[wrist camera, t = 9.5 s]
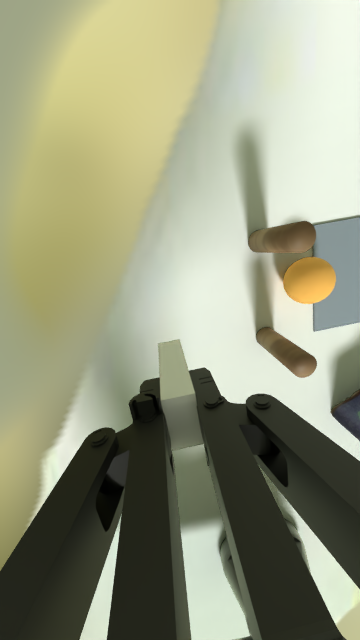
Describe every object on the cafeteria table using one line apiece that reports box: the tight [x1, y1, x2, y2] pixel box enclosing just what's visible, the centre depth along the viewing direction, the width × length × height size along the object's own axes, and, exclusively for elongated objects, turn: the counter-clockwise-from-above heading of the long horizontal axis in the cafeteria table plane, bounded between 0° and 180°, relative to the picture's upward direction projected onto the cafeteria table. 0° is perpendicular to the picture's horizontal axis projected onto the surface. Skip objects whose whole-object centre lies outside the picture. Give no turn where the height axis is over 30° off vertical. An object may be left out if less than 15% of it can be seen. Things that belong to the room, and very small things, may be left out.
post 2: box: [256, 327, 317, 378], centre depth 29 cm, size 3×3×9 cm
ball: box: [283, 257, 336, 304], centre depth 28 cm, size 6×6×6 cm
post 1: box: [248, 221, 316, 253], centre depth 25 cm, size 3×3×9 cm
